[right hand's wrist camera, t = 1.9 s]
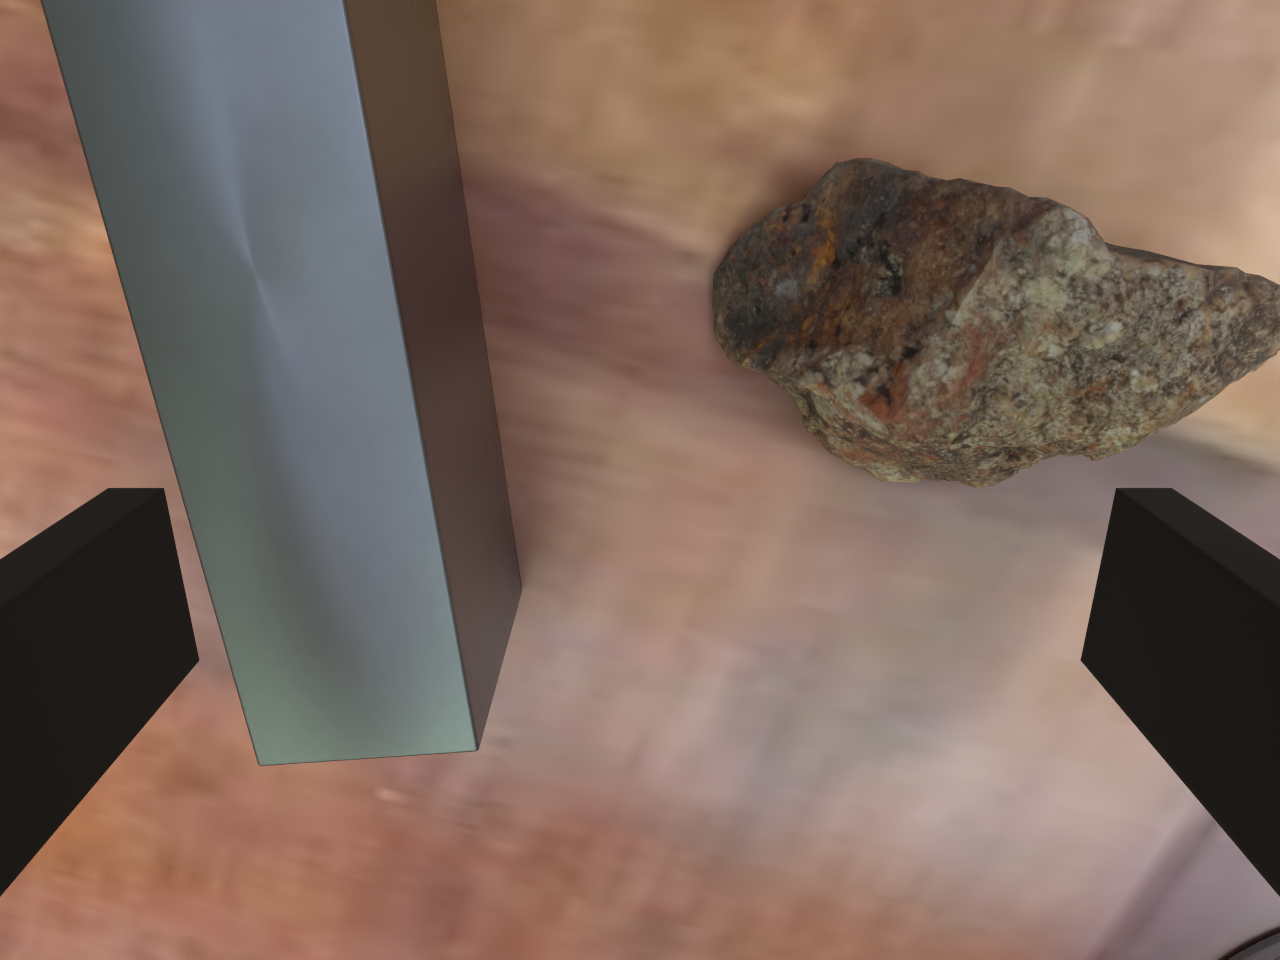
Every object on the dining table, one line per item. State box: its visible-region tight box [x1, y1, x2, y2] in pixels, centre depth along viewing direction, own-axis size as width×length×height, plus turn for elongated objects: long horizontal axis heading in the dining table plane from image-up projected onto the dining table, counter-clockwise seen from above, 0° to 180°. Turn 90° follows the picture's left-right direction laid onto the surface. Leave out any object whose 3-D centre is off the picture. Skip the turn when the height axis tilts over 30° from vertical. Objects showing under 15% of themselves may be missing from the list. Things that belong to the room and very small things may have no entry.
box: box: [41, 0, 522, 766], centre depth 24 cm, size 26×6×9 cm, turn 5°
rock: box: [713, 158, 1280, 488], centre depth 25 cm, size 14×9×10 cm
